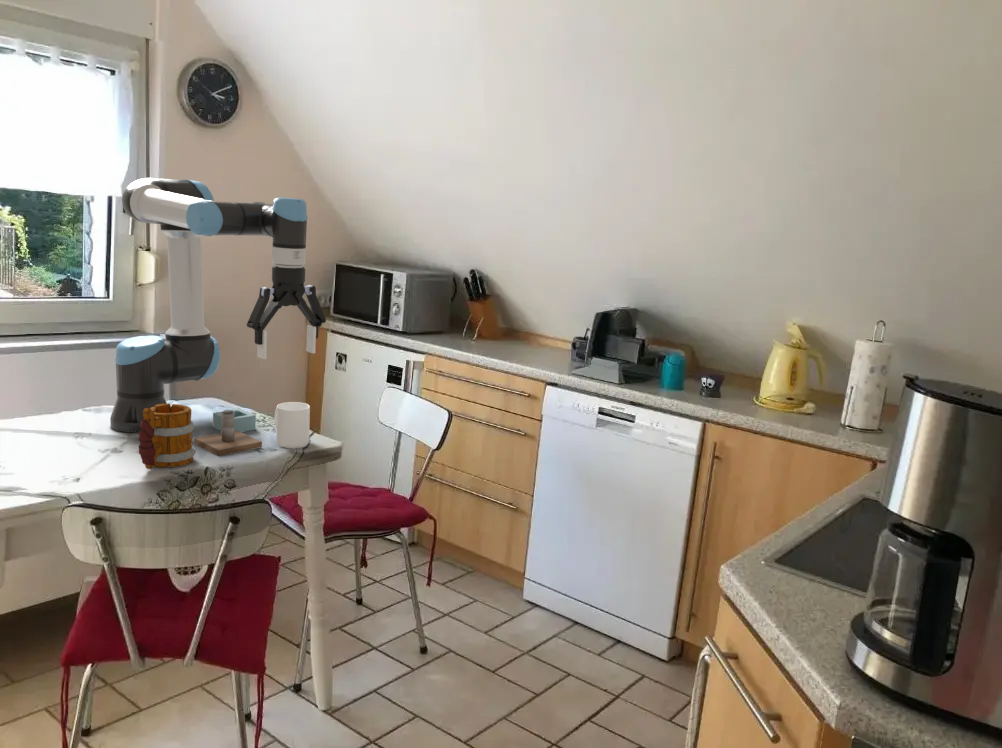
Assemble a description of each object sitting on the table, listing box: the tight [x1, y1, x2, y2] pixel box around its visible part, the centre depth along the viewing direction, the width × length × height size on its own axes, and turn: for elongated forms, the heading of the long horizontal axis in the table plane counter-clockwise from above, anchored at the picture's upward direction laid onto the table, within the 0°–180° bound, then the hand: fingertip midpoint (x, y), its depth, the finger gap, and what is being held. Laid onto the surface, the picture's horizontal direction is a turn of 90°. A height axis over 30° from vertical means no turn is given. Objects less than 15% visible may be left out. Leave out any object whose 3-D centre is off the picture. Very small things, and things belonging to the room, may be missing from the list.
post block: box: [193, 409, 263, 457], centre depth 216 cm, size 12×12×9 cm
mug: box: [138, 402, 197, 470], centre depth 199 cm, size 11×16×15 cm, turn 167°
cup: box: [273, 401, 311, 449], centre depth 222 cm, size 8×12×10 cm
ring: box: [212, 408, 257, 433], centre depth 231 cm, size 8×8×4 cm
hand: (286, 355), depth 203 cm, fingers open, 13 cm apart
